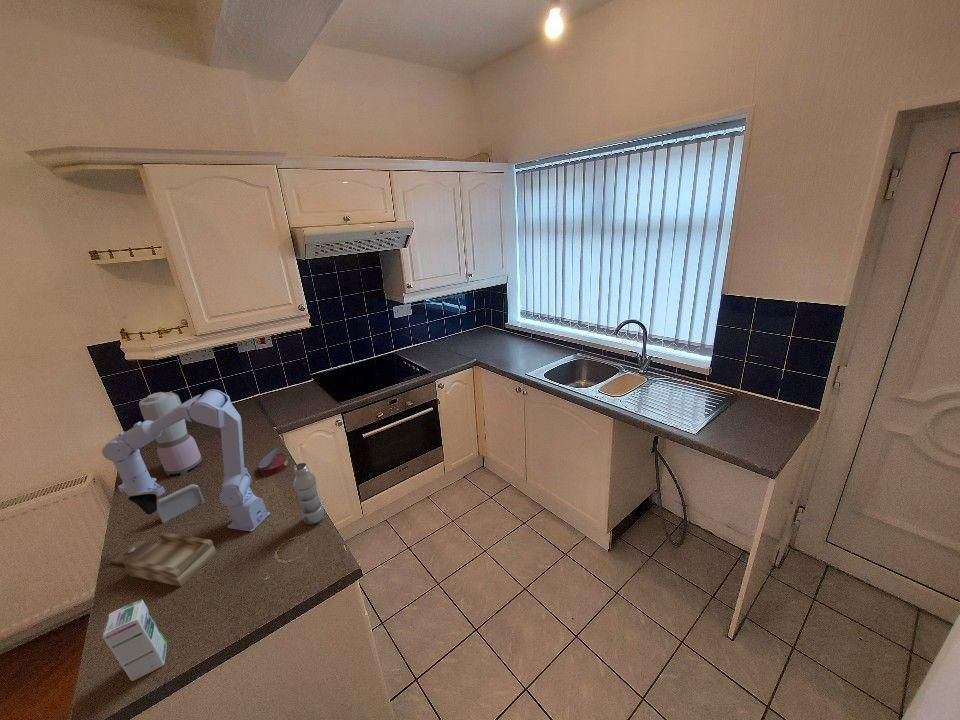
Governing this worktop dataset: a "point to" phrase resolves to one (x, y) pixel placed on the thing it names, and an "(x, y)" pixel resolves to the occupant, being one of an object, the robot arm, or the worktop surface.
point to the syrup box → (135, 640)
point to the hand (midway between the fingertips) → (152, 511)
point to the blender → (171, 435)
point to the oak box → (172, 559)
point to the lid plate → (133, 552)
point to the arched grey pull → (179, 502)
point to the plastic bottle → (307, 494)
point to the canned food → (273, 463)
